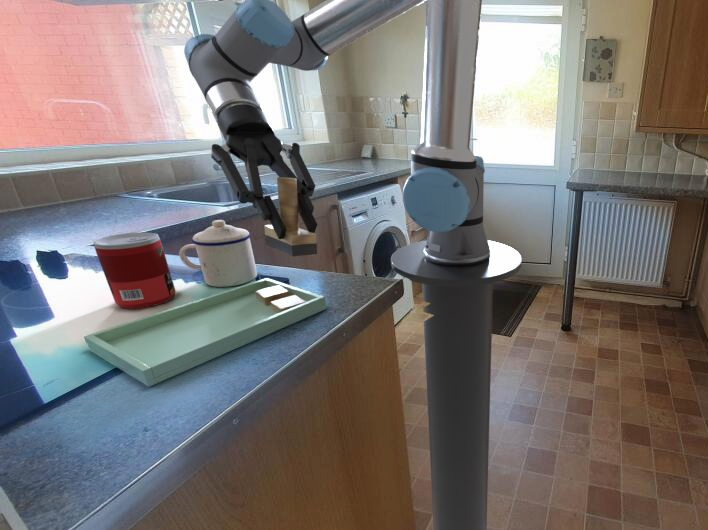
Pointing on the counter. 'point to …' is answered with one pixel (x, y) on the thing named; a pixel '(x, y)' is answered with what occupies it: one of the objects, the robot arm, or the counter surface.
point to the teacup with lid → (223, 255)
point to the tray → (197, 331)
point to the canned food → (135, 269)
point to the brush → (290, 223)
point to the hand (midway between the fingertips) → (298, 231)
